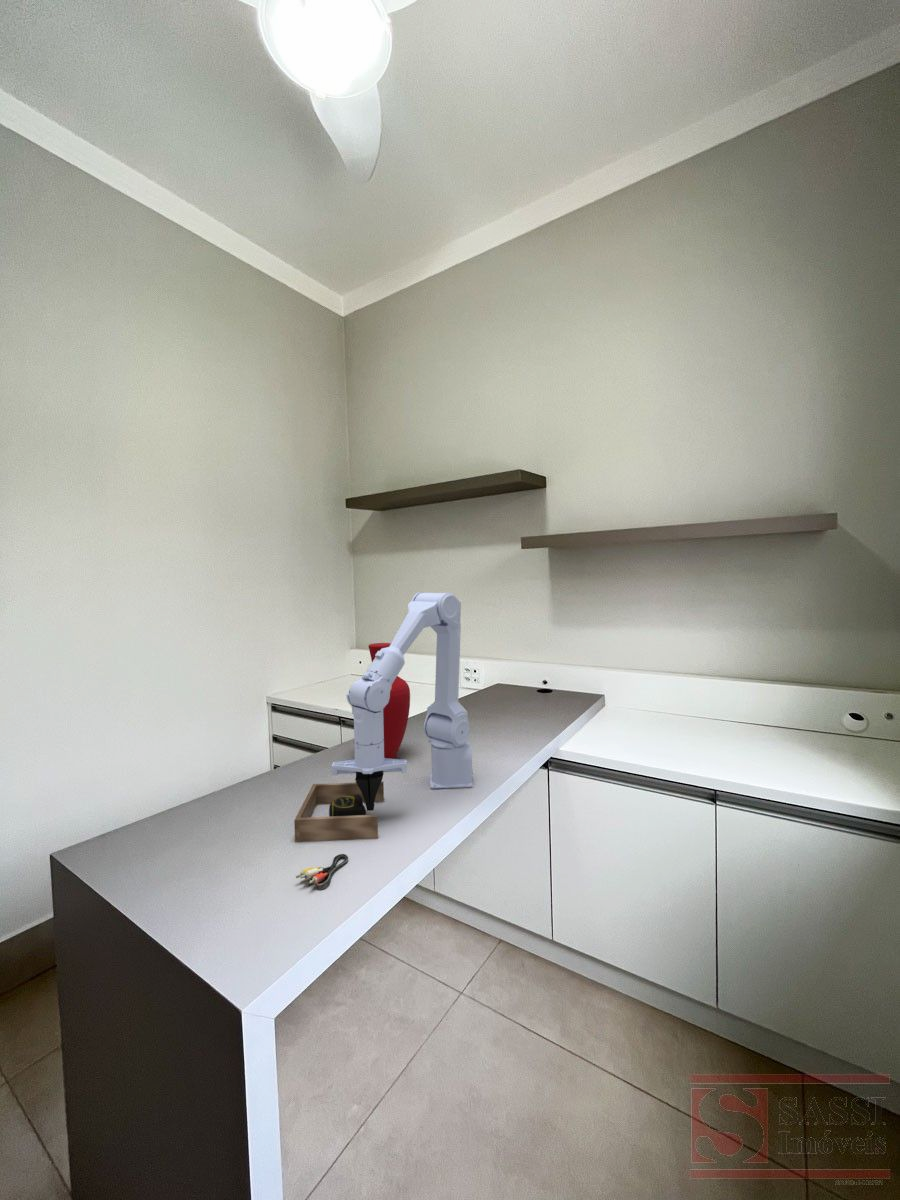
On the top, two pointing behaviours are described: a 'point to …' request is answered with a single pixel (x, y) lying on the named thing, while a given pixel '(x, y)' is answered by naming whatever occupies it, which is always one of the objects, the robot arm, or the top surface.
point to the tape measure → (347, 806)
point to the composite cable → (322, 872)
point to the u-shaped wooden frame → (334, 825)
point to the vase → (394, 710)
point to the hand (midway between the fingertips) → (370, 808)
